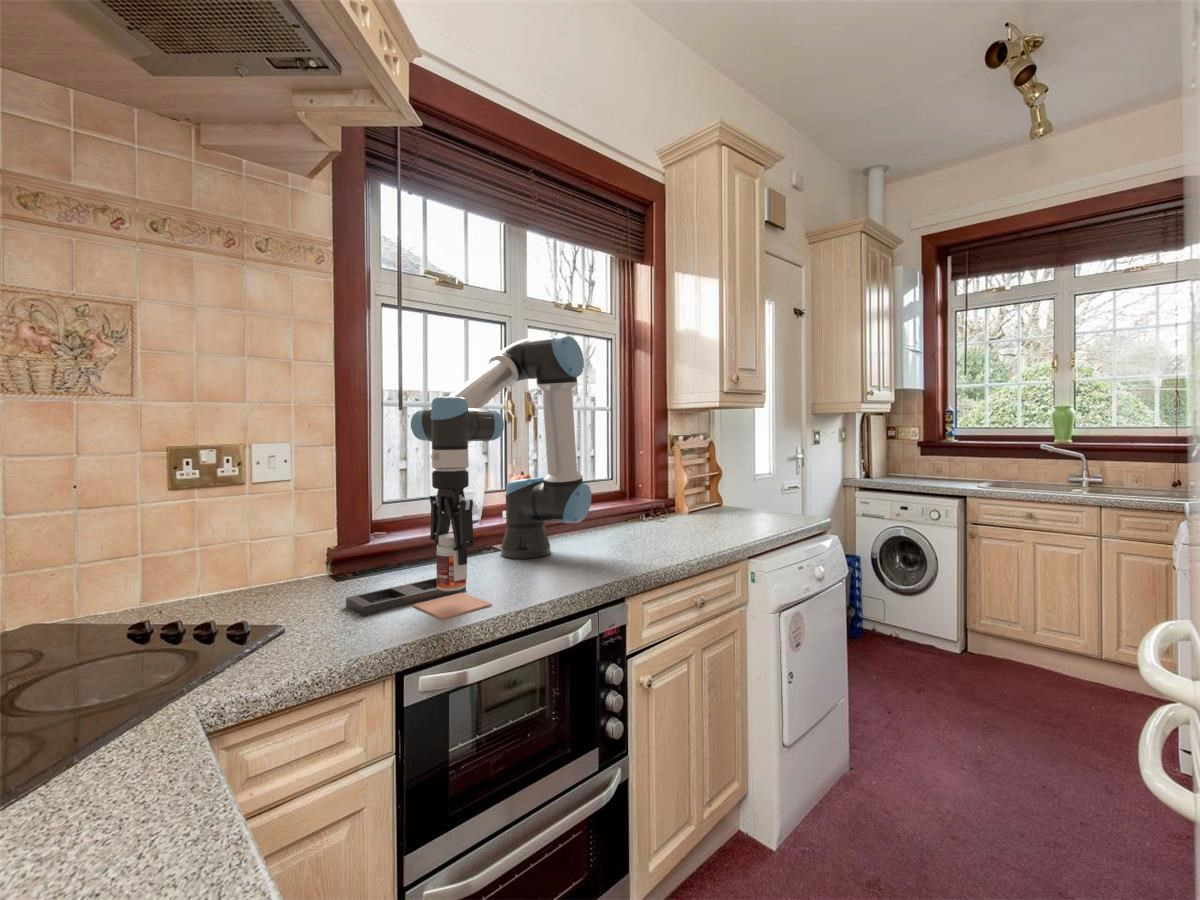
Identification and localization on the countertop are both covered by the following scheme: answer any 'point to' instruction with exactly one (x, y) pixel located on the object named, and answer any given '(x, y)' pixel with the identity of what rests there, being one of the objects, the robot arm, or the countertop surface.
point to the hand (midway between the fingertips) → (451, 576)
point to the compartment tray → (396, 597)
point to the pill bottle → (447, 565)
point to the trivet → (451, 605)
